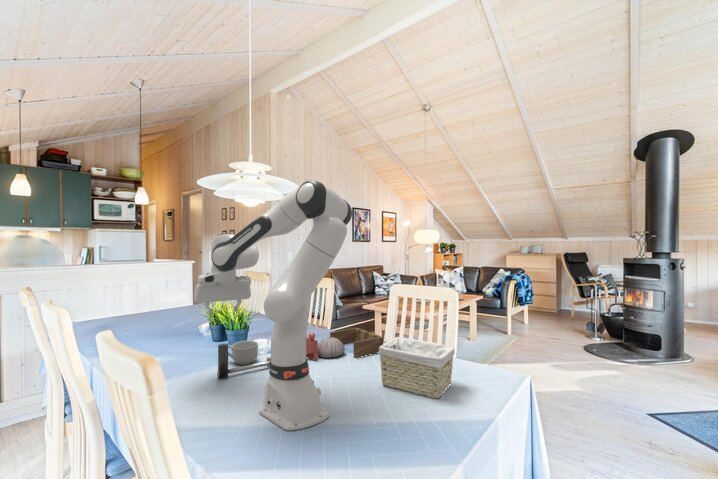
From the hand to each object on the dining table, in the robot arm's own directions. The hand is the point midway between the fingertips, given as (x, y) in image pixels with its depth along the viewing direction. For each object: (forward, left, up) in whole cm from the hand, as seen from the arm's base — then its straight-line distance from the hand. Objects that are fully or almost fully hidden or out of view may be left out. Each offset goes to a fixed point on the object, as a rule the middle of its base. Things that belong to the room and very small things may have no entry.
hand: (223, 312), depth 133 cm
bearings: (0, -26, -25) cm, 36 cm away
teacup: (+13, -11, -25) cm, 30 cm away
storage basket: (-48, -55, -25) cm, 77 cm away
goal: (0, -62, -25) cm, 67 cm away
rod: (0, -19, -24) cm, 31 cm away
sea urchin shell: (0, -48, -25) cm, 54 cm away
